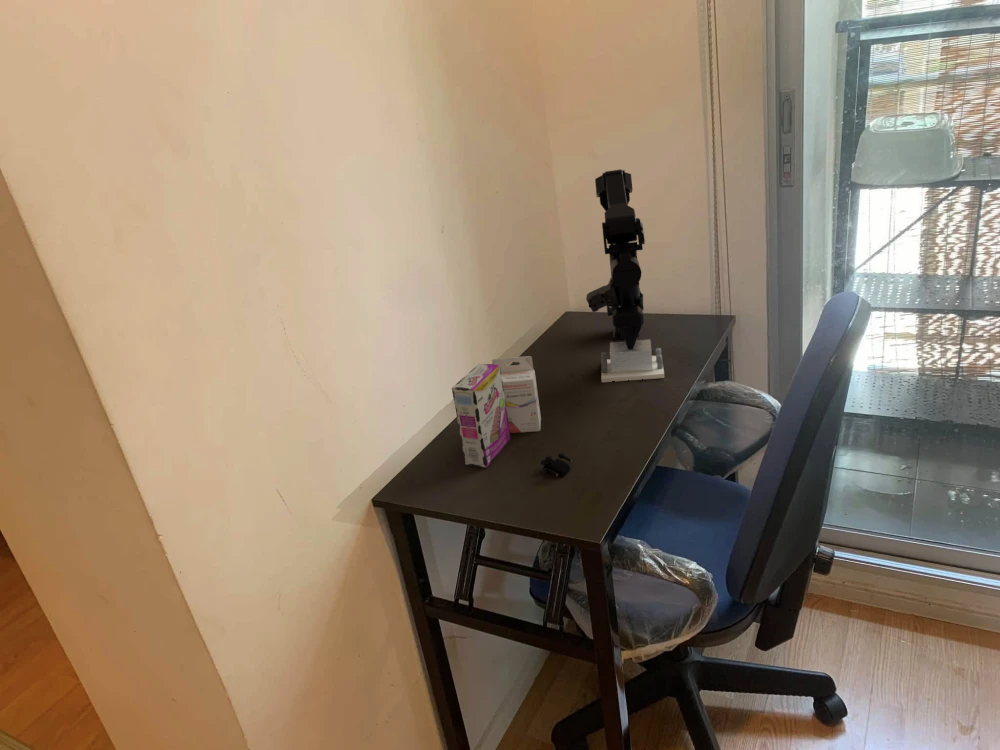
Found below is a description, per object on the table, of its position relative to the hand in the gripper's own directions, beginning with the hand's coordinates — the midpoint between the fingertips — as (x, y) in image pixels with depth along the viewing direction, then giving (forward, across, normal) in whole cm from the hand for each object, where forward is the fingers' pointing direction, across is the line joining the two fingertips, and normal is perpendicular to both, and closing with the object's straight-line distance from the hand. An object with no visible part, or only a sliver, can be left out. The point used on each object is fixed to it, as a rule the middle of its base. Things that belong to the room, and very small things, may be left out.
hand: (629, 341), depth 154 cm
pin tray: (+7, 0, 0) cm, 7 cm away
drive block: (+6, 0, 0) cm, 6 cm away
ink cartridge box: (+8, +23, -23) cm, 33 cm away
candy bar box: (+8, +32, -28) cm, 43 cm away
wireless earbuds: (+8, +40, -15) cm, 43 cm away
